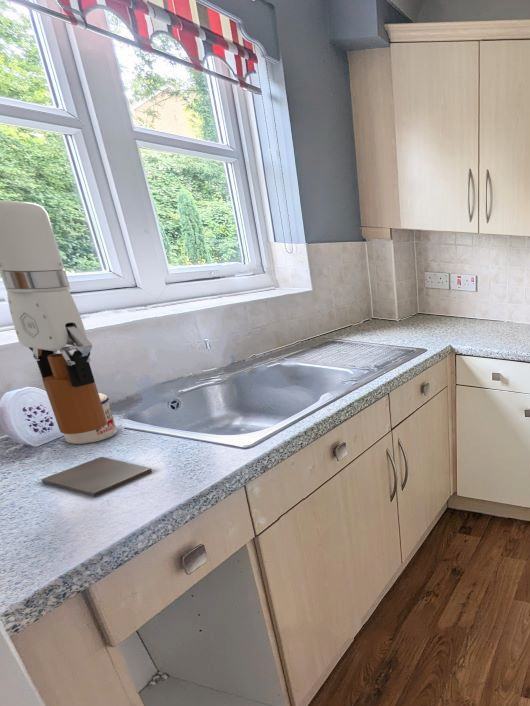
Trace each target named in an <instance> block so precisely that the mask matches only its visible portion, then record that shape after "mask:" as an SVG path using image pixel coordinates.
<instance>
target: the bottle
mask: <svg viewBox="0 0 530 706" xmlns="http://www.w3.org/2000/svg"><path fill="white" fill-rule="evenodd" d="M73 353H74V352H70V354H71V356H72V355H73ZM47 358H48V361H49V364H50V367H51V370H52V373H53V375H51V376H48V377H45V378H42V379H41V380H42V383H43V384H42V385H43V386H44V389H45V393H46V395H47V398H48V401H49V404H50V407H51V409H52V412H53V415H54V417H55V421H56V425H57V427H58V429H59V432H60V433H61V434H63V435H64V434H78V433H85V432H89V431H93V430H96V429H99V428H102V427H104V426H105V425H106V424H107V420H106V417H105V414H104V410H103V407H102V404H101V401H100V397H99V394H98V393H99V391H98V388H97V385H96V381H94V383H91V384H87V385H83V386H79V387H73V386H72V385H71V382H70V379H69V376H68V373H67V370H66V367H65V365H68V363H67V362H66V360H65V358H64V357H63V355H62V354H61V352H59V353H58V352H57V354H52V355H48V356H47Z"/></svg>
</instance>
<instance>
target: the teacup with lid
mask: <svg viewBox="0 0 530 706" xmlns="http://www.w3.org/2000/svg"><path fill="white" fill-rule="evenodd" d="M98 394H99V397H100V401H101V404H102V407H103V410H104V414H105V417H106V420H107V424H106V425H105V426H104V427H102V428H99V429H96V430H93V431H89V432H85V433H78V434H64V433H63V436H64V439H65V442H67V443H68V444H72V445H73V444H74V445H84V444H90V443H97V442H100V441H103V440H106V439H109V438H111V437H113V436H114V435H115V434H116V433H117V431H118V430H117V427H116V423H115V420H114V417H113V413H112V410H111V407H110V404H109V400H110V398H109V397H108V396H107V394H104V393H101V392H98Z"/></svg>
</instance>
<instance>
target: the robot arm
mask: <svg viewBox="0 0 530 706" xmlns="http://www.w3.org/2000/svg"><path fill="white" fill-rule="evenodd" d="M61 256H62V255H61V252H60V249H59V246H58V242H57V240H56V236H55V232H54V229H53V226H52V222H51V219H50V215H49V214H48V212H47V210H46V209H45V207H44V206H42V205H41V204H38V203H34V202H27V201H13V200H0V277H1V278H2V282H3V285H4V288H5V291H6V294H7V296H6V297H7V302H8V307H9V312H10V316H11V320H12V322H13V323H12V324H13V327H14V330H15V334H16V337H17V339H18V342H19V344H21V345H22V346H23V347H26V348H28V349H29V350H30V351H31V353H32V357H33V359H34V360H35V361H36V364H37V365H38V366H37V367H38V369H39V373H40V375H41V378H42V379H43V378H45V377H48V376H51V375H53V373H52V370H51V367H50V364H49V361H48V358H47V356H48V355H52V354H57V353H58V351H59V353H61V354H62V355H63V357H64V358H65V360H66V362H67V363H68V365H65V367H66V370H67V373H68V376H69V379H70V382H71V385H72V386H73V387H79V386H83V385H87V384H91V383H94V381H95V378H94V374H93V371H92V367H91V365H90V362H91V358H90V356H91V351H92V349H93V344H92V342H91V341H90V340H89V339H88V335H87V332H86V328H85V326H84V322H83V320H82V317H81V314H80V312H79V309H78V307H77V304H76V303H75V300H74V298H73V296H72V294H71V292H70V290H71V285H70V282H69V280H68V276H67V272H66V270H65V266H64V262H63V259H62V257H61ZM67 345H68V346H67ZM71 352H72V353H73V355H72V356H71V354H70V353H71ZM95 382H96V381H95Z"/></svg>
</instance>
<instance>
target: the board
mask: <svg viewBox="0 0 530 706" xmlns="http://www.w3.org/2000/svg"><path fill="white" fill-rule="evenodd" d="M152 471H153V470H152V468H151V467H148V466H147V467H146V466H143V465H138V464H134V463H130V462H126V461H121V460H117V459H113V458H109V457H105V456H99V457H97V458H94V459H91V460H88V461H86V462H83V463H81V464H78V465H76V466H72V467H70V468H68V469H65V470H62V471H60V472H57V473H54V474H51V475H49V476H46V477H44V478H41V482H42V484H44V485H45V484H46V485H49V486H53V487H57V488H60V489H64V490H68V491H71V492H76V493H79V494H83V495H86V496H90V497H94V498H96V497H98V496H101V495H103V494H105V493H107V492H110V491H112V490H114V489H116V488H119V487H121V486H123V485H125V484H128V483H131V482H132V481H135V480H137V479H139V478H141V477H144V476H146V475H149V474H150V473H152Z"/></svg>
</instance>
